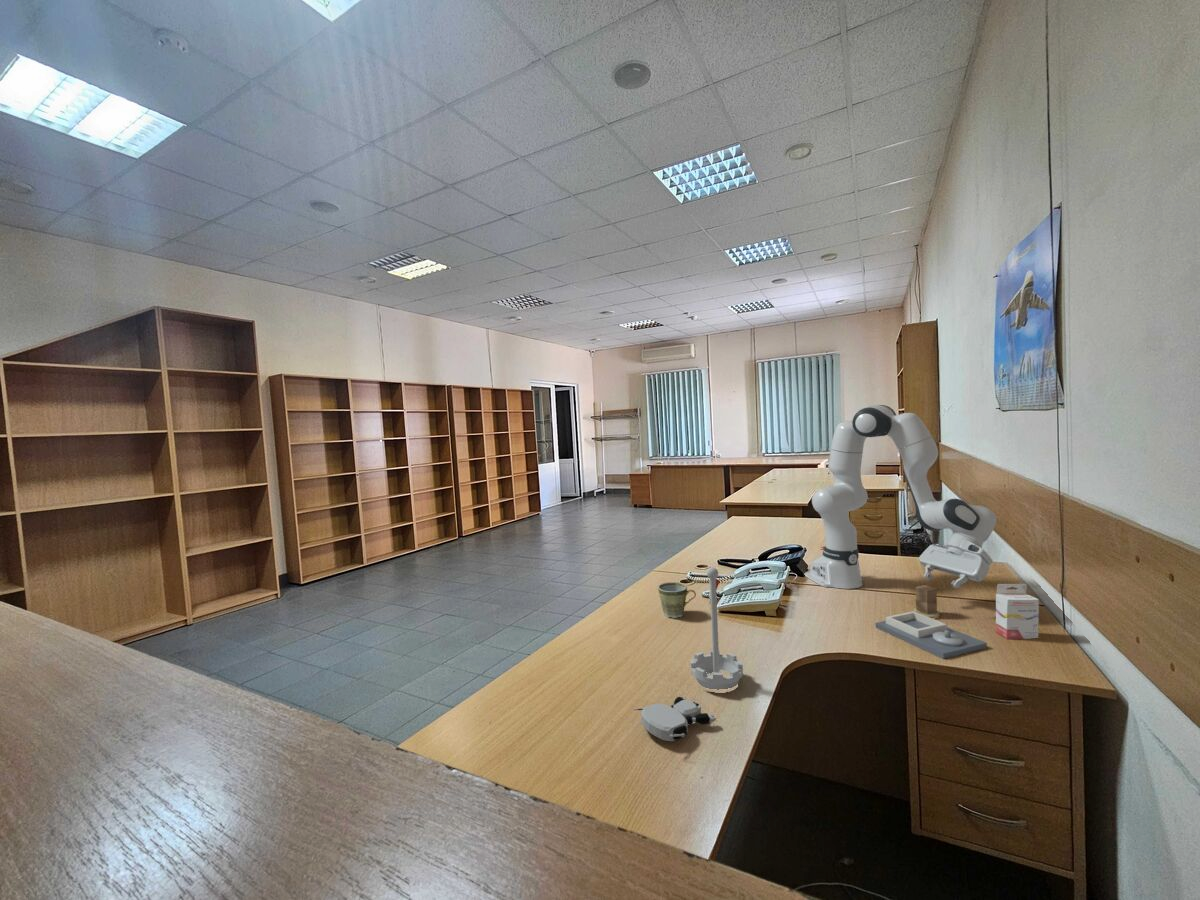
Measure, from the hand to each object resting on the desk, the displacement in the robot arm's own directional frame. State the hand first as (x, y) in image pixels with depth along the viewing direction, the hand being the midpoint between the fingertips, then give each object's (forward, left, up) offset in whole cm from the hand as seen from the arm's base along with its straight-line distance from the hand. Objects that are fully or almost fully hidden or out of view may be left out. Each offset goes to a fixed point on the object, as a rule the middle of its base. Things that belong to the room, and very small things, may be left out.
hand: (939, 582), depth 162 cm
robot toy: (+23, -107, -10) cm, 110 cm away
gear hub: (0, -6, -10) cm, 12 cm away
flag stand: (+10, -89, -10) cm, 90 cm away
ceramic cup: (-33, -79, -10) cm, 86 cm away
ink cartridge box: (+21, +3, -10) cm, 23 cm away
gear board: (+12, -20, -10) cm, 25 cm away
